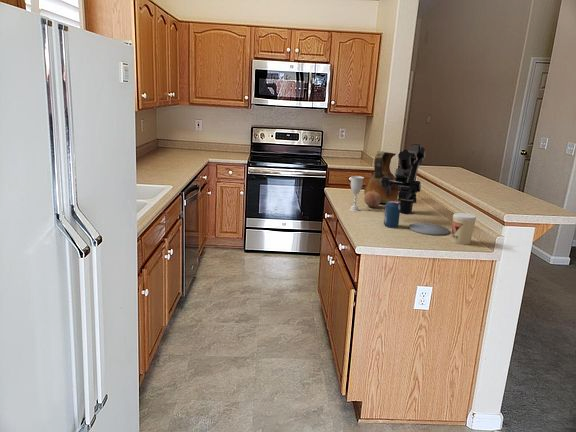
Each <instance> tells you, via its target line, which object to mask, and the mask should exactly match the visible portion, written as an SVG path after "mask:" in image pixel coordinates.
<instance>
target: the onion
mask: <svg viewBox="0 0 576 432" xmlns="http://www.w3.org/2000/svg"><path fill="white" fill-rule="evenodd" d="M363 200H364V203H365V204H366V205H367V206H368V207H370V208H375V207H377V206H379V205H380V204H381V203H382V202H381V196H380V195H379V194H378V193H377V192H376V191H374V190H372V191H369V192H367V193H366V194H365V195H364V197H363Z"/></svg>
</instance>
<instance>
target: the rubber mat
mask: <svg viewBox="0 0 576 432" xmlns="http://www.w3.org/2000/svg"><path fill="white" fill-rule="evenodd" d="M408 230H410V231H412V232H415V233H417V234H422V235H426V236H447V235H449V233H450V229H449V228H447V227H445V226H442V225H439V224H434V223H427V222H414V223H411V224H409V225H408Z"/></svg>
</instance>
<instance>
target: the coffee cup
mask: <svg viewBox="0 0 576 432" xmlns="http://www.w3.org/2000/svg"><path fill="white" fill-rule="evenodd" d="M476 220H477V217H476V215H474V214H472V213H468V212H467V213H466V212H455V213H454V214H453V215H452V226H451V227H452V228H451V242H452V243H454V244H458V245H461V246H462V245H464V246H465V245H468V246H469V245H470V244H471V242H472V237H473V233H474V228H475V224H476Z"/></svg>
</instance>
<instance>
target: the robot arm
mask: <svg viewBox="0 0 576 432" xmlns="http://www.w3.org/2000/svg"><path fill="white" fill-rule="evenodd" d="M426 155H427V154H426V149H425V148H424V147H423V146H422V144H420V143H411V145H410V147H409V148H408V149H403V150H402V151H400V152H399V153H398V154H397V157H398V165H399V168H395V169H396V170H395V173H394V176H395V179H396V181H392V180H391V179H390V178H389V177H383V178H382V179H381V183H382V187H383V188H384V189H386V190H387V197H388V196H389V192H390V187H391V185H397V186H398V187H400V189H399V193H398V198H397V201H398V202H400V206H401V207H400V213H401V214H404V215H410V214H414V213H415V212H414V211H413V205H414V204H415V203H417V193H420V192H421V188H422V185H421V181H420V180H416V178H417V173H418V170H419V166H420V165H422V163H424V159H425V158H426Z"/></svg>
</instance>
